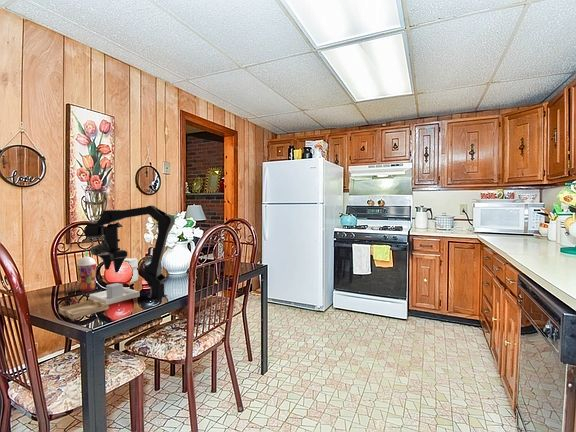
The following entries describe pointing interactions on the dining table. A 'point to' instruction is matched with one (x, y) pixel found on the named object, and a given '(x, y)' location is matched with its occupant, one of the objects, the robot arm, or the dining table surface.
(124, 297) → the bin
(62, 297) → the dining table surface
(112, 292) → the stone block
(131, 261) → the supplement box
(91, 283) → the smoothie
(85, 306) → the oak tray
